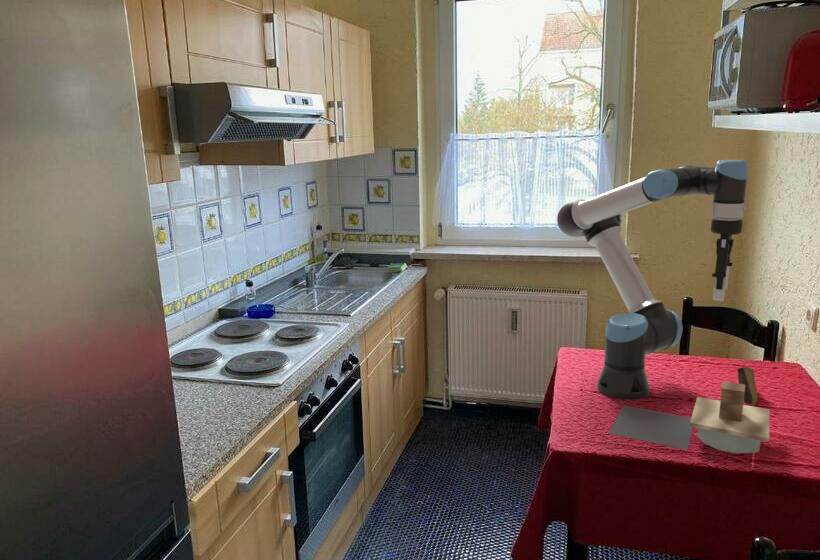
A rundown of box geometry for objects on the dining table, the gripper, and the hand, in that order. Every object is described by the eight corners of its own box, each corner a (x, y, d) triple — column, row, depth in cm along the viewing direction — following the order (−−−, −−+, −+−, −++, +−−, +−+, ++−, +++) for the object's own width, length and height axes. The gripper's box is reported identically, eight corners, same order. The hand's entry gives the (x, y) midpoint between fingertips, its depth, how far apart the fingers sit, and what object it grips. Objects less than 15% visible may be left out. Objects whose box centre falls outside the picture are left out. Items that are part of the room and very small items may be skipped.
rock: (741, 378, 189) (720, 381, 184) (761, 362, 183) (740, 364, 179) (764, 409, 183) (743, 412, 178) (786, 393, 177) (764, 396, 172)
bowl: (695, 447, 154) (697, 425, 153) (700, 424, 166) (702, 403, 165) (759, 460, 147) (761, 437, 146) (760, 435, 159) (762, 414, 158)
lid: (689, 426, 152) (692, 392, 150) (697, 400, 167) (699, 369, 165) (768, 441, 144) (772, 406, 142) (769, 412, 158) (773, 380, 156)
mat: (608, 435, 161) (608, 433, 161) (623, 407, 177) (623, 405, 177) (687, 452, 152) (687, 449, 152) (695, 420, 168) (695, 418, 168)
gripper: (740, 225, 153) (732, 307, 158) (744, 213, 174) (737, 285, 179) (707, 224, 157) (700, 304, 162) (715, 212, 178) (709, 283, 183)
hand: (720, 294), depth 170 cm, fingers open, 13 cm apart
